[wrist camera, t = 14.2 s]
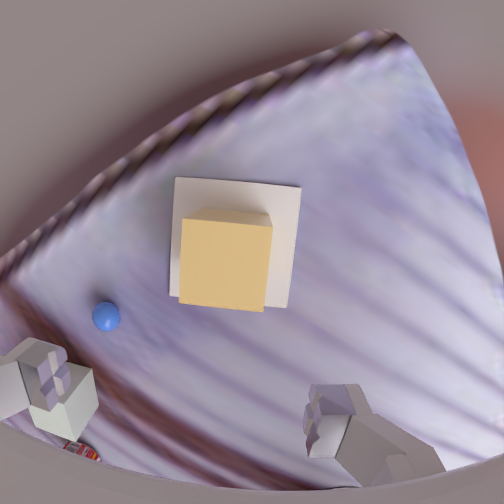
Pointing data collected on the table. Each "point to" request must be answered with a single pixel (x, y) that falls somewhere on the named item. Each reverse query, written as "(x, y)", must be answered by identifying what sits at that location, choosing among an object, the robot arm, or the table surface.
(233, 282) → the tan cube
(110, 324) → the marble
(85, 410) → the matte white cube
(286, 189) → the grey mat
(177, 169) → the table surface
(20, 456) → the robot arm
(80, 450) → the soda can
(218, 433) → the table surface
